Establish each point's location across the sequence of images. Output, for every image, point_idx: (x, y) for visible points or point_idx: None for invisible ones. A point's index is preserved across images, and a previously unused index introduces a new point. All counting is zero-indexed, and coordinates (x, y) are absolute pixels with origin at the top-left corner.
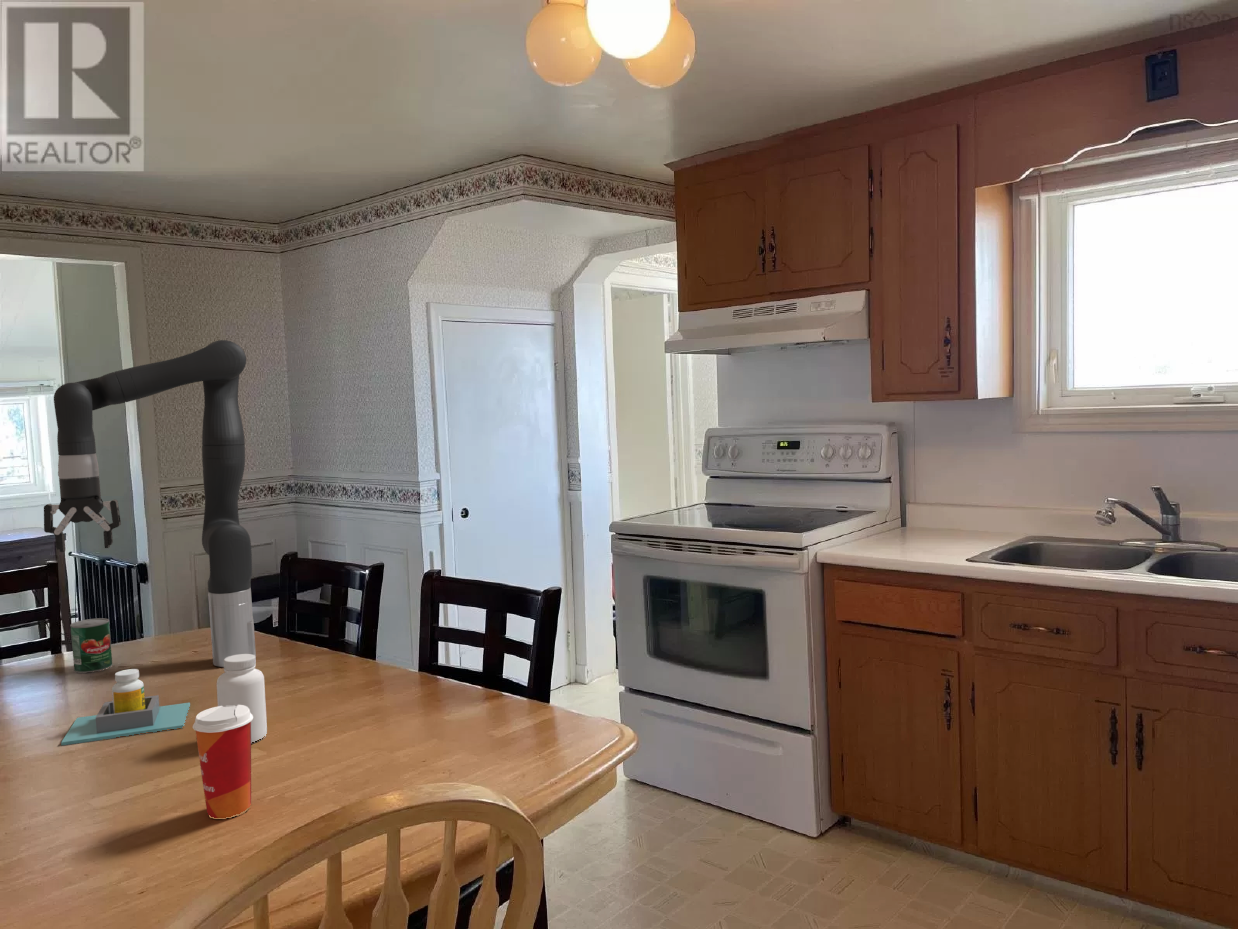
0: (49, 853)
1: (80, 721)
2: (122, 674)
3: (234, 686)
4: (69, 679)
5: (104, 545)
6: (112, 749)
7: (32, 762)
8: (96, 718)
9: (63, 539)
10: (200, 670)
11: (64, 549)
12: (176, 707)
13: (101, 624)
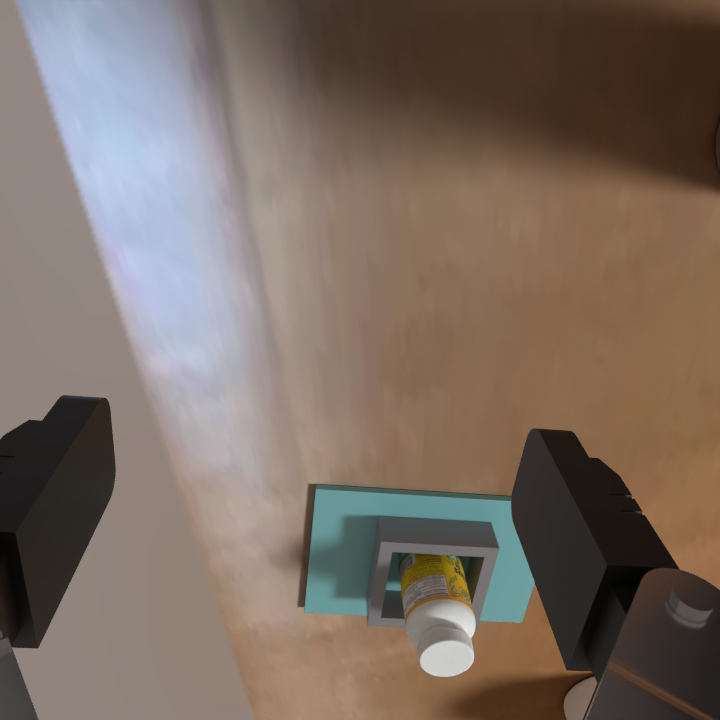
0: None
1: (326, 517)
2: (436, 672)
3: None
4: (224, 9)
5: (516, 531)
6: (395, 655)
7: (267, 654)
8: (369, 624)
9: (59, 538)
10: (659, 176)
11: (105, 446)
12: None
13: None
